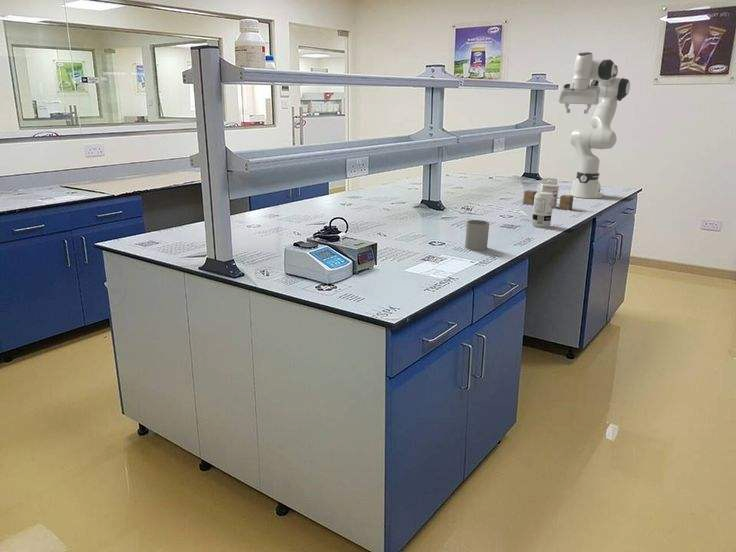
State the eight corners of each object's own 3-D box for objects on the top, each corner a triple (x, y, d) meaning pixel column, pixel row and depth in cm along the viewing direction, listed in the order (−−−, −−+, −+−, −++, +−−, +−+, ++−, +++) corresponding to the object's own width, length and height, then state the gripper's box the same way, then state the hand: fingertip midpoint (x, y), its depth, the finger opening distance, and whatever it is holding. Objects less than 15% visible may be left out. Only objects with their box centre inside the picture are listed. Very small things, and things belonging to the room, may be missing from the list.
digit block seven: (527, 202, 314) (528, 189, 312) (535, 204, 311) (537, 191, 309) (523, 203, 310) (524, 190, 308) (531, 205, 307) (533, 192, 305)
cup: (462, 249, 217) (464, 223, 213) (467, 244, 224) (469, 219, 221) (485, 251, 214) (487, 225, 211) (488, 246, 221) (491, 221, 218)
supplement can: (529, 223, 263) (533, 191, 258) (547, 224, 263) (551, 191, 258) (533, 227, 255) (537, 194, 251) (552, 228, 255) (556, 194, 251)
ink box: (539, 207, 303) (543, 179, 298) (538, 205, 308) (541, 177, 303) (556, 207, 302) (559, 179, 298) (554, 206, 307) (557, 178, 302)
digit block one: (562, 208, 302) (564, 194, 300) (571, 209, 299) (573, 195, 297) (558, 209, 298) (560, 195, 296) (568, 210, 295) (570, 197, 293)
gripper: (602, 86, 293) (598, 114, 297) (563, 85, 305) (560, 112, 309) (598, 85, 288) (594, 114, 292) (559, 85, 300) (556, 112, 305)
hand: (576, 113), depth 301 cm, fingers open, 8 cm apart
